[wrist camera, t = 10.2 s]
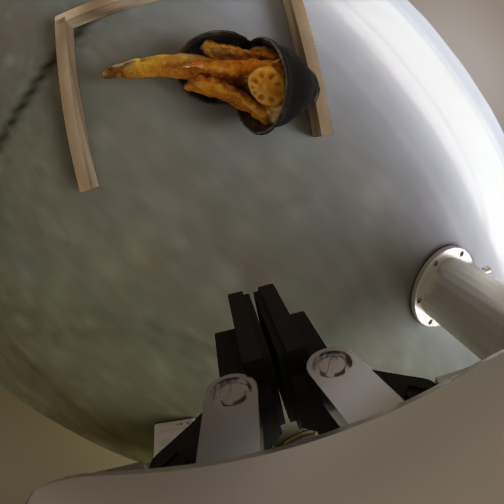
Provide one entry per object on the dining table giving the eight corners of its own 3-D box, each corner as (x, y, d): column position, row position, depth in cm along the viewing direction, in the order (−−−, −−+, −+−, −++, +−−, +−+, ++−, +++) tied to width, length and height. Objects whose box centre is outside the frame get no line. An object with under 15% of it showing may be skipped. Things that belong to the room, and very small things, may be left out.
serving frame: (285, -23, 23) (291, -33, 21) (323, 135, 30) (333, 134, 28) (63, 24, 21) (54, 16, 19) (88, 189, 28) (80, 193, 25)
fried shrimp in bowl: (331, 147, 26) (115, 173, 18) (267, 112, 33) (104, 128, 25) (351, 48, 20) (109, 32, 12) (277, 36, 27) (102, 36, 19)
